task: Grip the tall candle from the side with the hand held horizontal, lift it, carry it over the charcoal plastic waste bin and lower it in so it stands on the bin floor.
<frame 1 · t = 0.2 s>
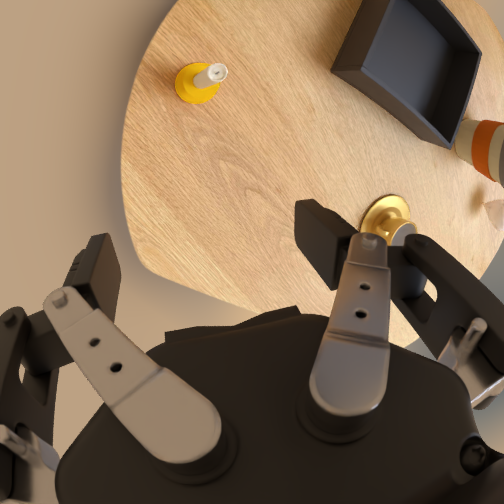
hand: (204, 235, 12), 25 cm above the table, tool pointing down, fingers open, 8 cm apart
cup: (384, 225, 49), on the table
spinning top: (481, 202, 56), on the table
bin: (404, 55, 33), on the table
candle: (196, 83, 30), on the table
reusable coffee cup: (465, 139, 45), on the table
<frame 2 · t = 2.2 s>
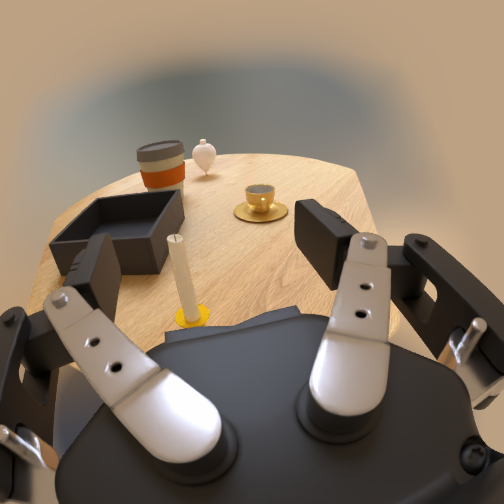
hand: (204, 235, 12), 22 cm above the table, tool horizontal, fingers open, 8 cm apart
cup: (260, 212, 66), on the table
spinning top: (206, 175, 93), on the table
bin: (125, 244, 57), on the table
candle: (200, 347, 34), on the table
reusable coffee cup: (167, 199, 77), on the table
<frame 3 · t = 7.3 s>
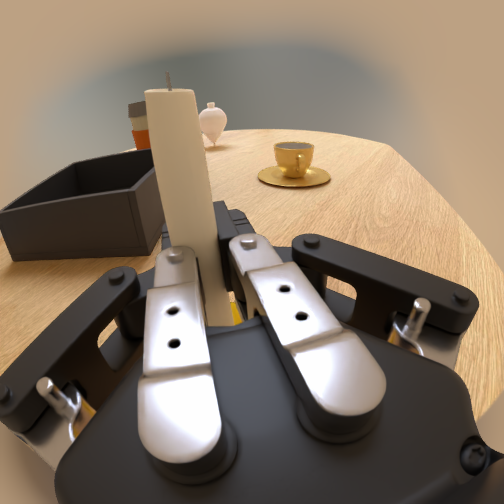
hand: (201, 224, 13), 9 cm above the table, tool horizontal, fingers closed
cup: (294, 178, 47), on the table
spinning top: (214, 146, 74), on the table
bin: (104, 217, 38), on the table
candle: (232, 393, 15), on the table, touching gripper
reusable coffee cup: (166, 168, 58), on the table
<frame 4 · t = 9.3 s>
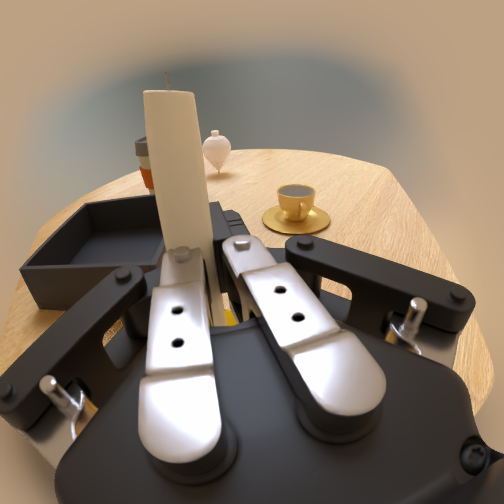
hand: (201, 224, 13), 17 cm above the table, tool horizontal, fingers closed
cup: (296, 220, 52), on the table
spinning top: (219, 173, 79), on the table
bin: (121, 264, 42), on the table
candle: (224, 401, 15), point 8 cm above the table, touching gripper
reusable coffee cup: (174, 202, 63), on the table
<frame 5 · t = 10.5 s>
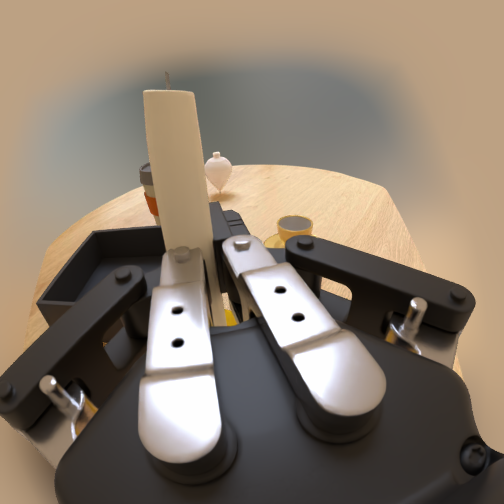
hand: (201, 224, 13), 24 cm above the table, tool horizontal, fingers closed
cup: (294, 249, 55), on the table
spinning top: (220, 194, 82), on the table
bin: (131, 294, 46), on the table
candle: (224, 401, 15), point 14 cm above the table, touching gripper
reusable coffee cup: (177, 226, 66), on the table
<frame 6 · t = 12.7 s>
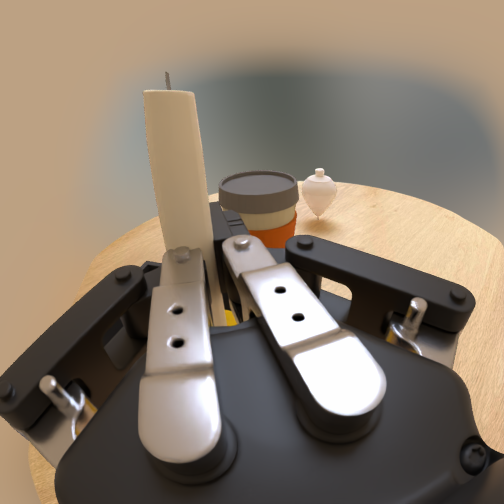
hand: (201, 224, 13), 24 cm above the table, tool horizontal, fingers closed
spinning top: (317, 220, 66), on the table
bin: (186, 365, 34), on the table
candle: (224, 401, 15), point 14 cm above the table, touching gripper
reusable coffee cup: (261, 263, 52), on the table
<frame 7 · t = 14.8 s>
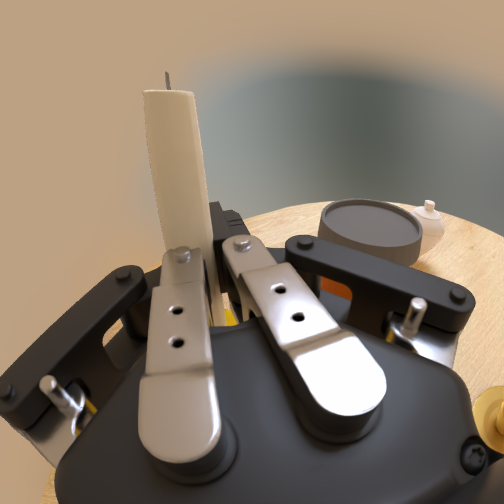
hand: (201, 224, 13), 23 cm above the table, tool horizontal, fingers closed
cup: (503, 426, 19), on the table
spinning top: (415, 261, 49), on the table
candle: (224, 401, 15), point 14 cm above the table, touching gripper
reusable coffee cup: (353, 316, 39), on the table
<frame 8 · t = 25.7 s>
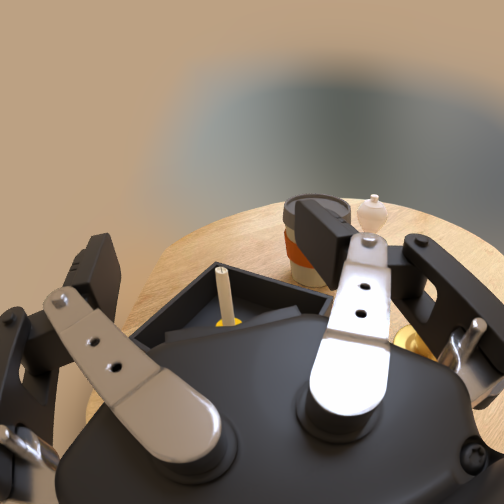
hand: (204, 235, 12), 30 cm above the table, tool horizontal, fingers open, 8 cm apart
cup: (424, 351, 39), on the table
spinning top: (368, 241, 69), on the table
bin: (237, 351, 43), on the table
candle: (233, 352, 42), point 1 cm above the table, touching bin
reusable coffee cup: (313, 274, 59), on the table
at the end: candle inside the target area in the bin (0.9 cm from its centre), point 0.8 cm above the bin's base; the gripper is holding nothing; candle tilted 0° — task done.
